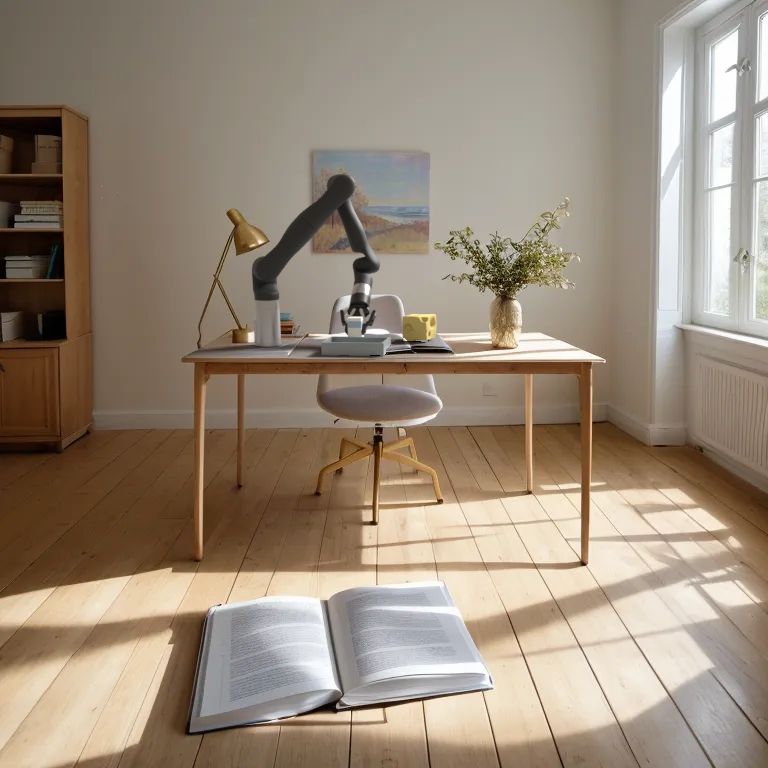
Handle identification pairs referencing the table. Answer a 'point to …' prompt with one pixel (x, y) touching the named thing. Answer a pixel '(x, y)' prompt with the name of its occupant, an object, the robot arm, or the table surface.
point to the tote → (355, 346)
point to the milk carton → (355, 326)
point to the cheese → (419, 327)
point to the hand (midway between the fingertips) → (354, 333)
